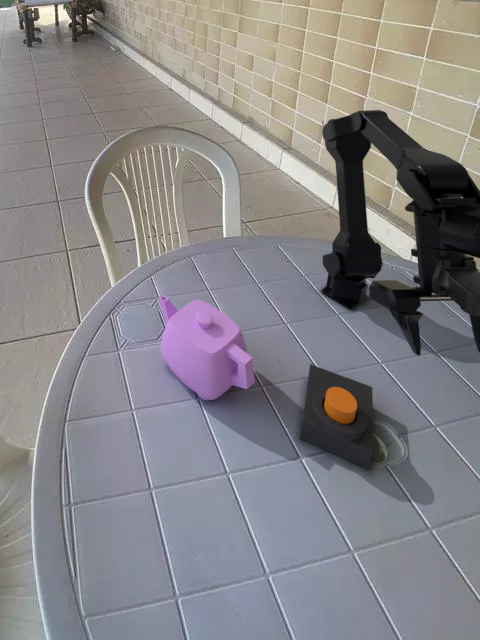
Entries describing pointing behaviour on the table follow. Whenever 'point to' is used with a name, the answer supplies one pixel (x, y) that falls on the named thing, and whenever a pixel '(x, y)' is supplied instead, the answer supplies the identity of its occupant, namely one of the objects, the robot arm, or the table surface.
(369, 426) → the button base
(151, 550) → the table surface
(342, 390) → the round orange button
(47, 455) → the table surface
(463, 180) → the robot arm
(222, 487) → the table surface
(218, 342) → the teapot
